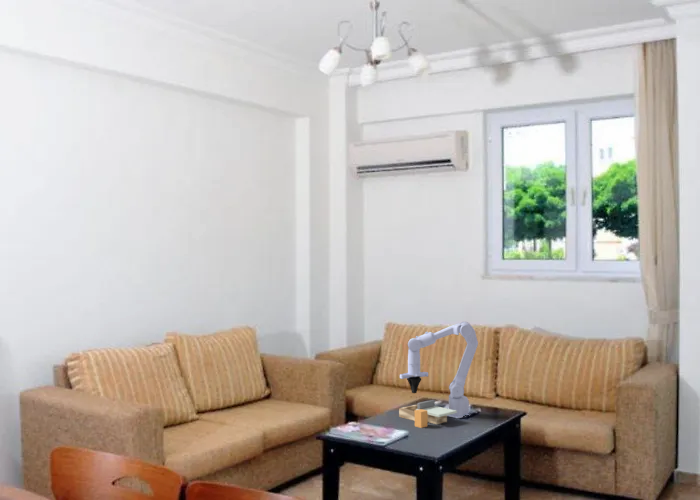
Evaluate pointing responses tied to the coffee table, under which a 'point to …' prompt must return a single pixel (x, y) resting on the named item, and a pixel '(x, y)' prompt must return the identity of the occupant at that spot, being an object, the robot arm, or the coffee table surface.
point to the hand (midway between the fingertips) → (414, 392)
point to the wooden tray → (410, 414)
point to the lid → (434, 409)
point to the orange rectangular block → (421, 418)
